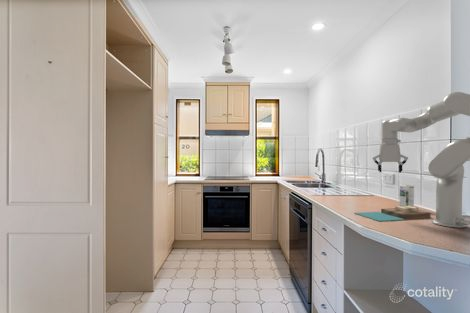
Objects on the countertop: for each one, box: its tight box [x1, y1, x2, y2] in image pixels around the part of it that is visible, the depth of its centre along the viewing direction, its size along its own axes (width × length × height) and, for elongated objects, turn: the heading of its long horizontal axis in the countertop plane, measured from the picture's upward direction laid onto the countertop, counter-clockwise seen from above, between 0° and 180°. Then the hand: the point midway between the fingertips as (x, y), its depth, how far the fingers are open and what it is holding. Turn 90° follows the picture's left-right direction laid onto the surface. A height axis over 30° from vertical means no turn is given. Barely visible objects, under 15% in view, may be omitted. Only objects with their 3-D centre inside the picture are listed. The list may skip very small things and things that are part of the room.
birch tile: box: [394, 205, 419, 212], centre depth 142 cm, size 9×6×2 cm, turn 103°
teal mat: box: [354, 211, 406, 222], centre depth 137 cm, size 18×16×1 cm
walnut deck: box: [380, 207, 432, 220], centre depth 141 cm, size 14×18×2 cm
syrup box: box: [398, 184, 415, 207], centre depth 161 cm, size 6×6×14 cm
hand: (390, 172), depth 146 cm, fingers open, 9 cm apart
